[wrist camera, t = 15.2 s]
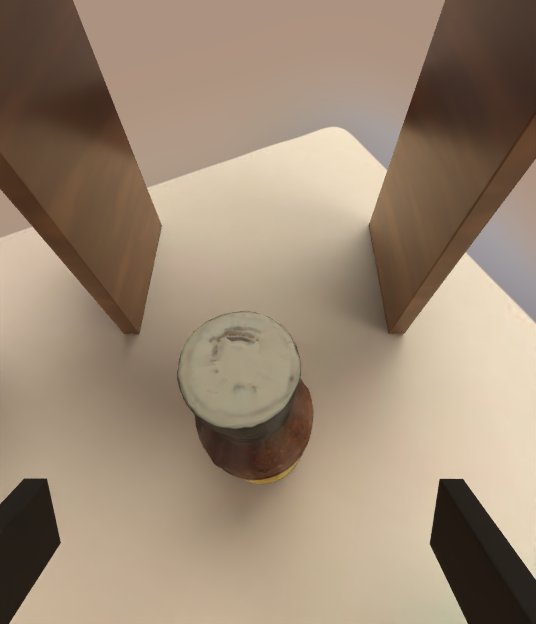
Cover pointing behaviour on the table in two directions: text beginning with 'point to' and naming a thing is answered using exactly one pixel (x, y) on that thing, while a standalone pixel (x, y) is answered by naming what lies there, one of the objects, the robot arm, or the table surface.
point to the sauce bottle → (247, 395)
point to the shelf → (393, 196)
